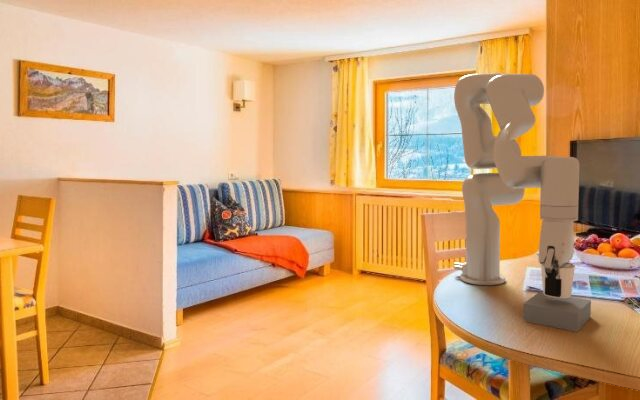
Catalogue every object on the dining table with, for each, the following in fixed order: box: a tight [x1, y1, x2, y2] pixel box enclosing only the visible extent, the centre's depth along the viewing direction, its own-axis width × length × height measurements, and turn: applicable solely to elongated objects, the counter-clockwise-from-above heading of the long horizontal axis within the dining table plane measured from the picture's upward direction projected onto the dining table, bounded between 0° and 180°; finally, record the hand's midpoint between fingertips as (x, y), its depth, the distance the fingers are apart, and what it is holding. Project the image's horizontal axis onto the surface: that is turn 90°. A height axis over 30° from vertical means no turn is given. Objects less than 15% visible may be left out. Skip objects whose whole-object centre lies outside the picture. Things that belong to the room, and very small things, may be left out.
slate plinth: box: [522, 291, 592, 333], centre depth 107 cm, size 11×11×4 cm
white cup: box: [540, 262, 576, 298], centre depth 106 cm, size 7×7×7 cm
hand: (557, 291), depth 106 cm, fingers closed on white cup, 5 cm apart
